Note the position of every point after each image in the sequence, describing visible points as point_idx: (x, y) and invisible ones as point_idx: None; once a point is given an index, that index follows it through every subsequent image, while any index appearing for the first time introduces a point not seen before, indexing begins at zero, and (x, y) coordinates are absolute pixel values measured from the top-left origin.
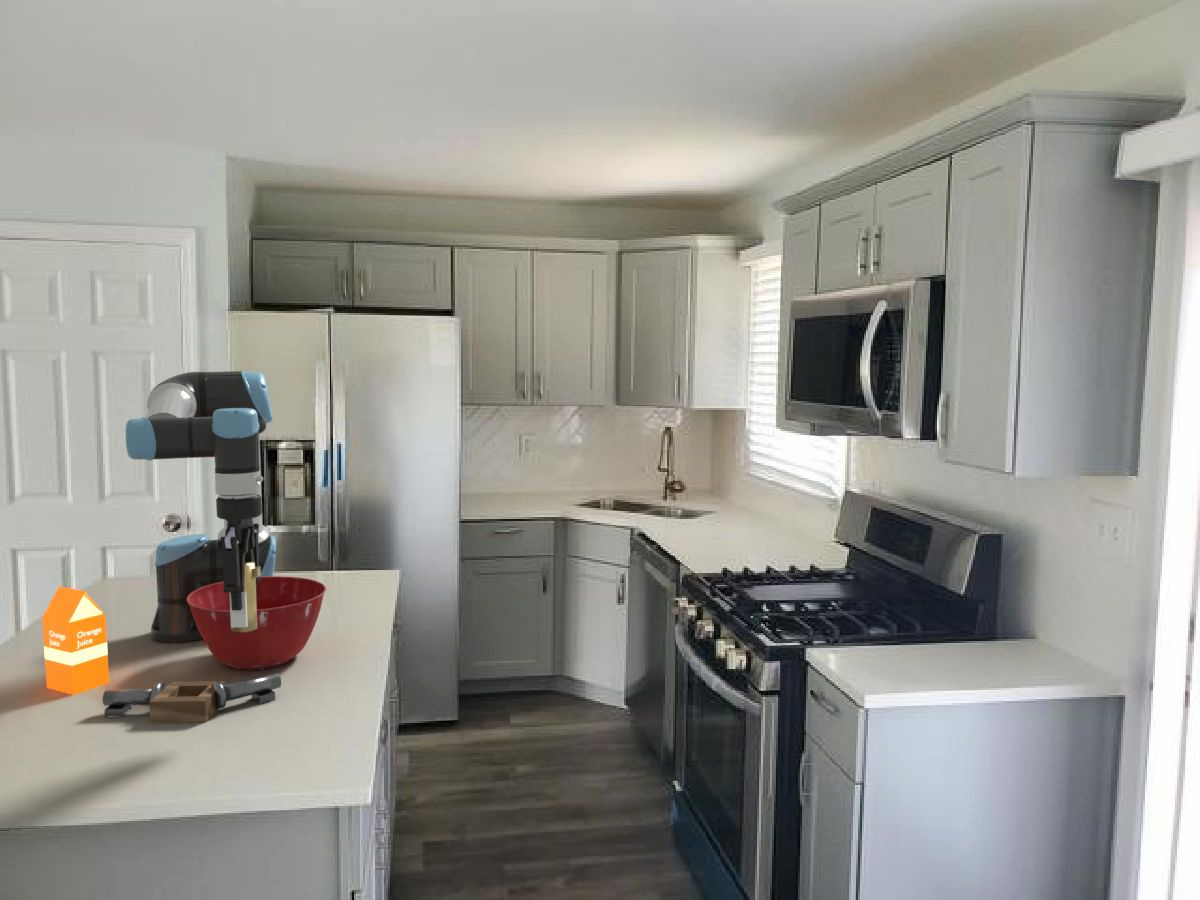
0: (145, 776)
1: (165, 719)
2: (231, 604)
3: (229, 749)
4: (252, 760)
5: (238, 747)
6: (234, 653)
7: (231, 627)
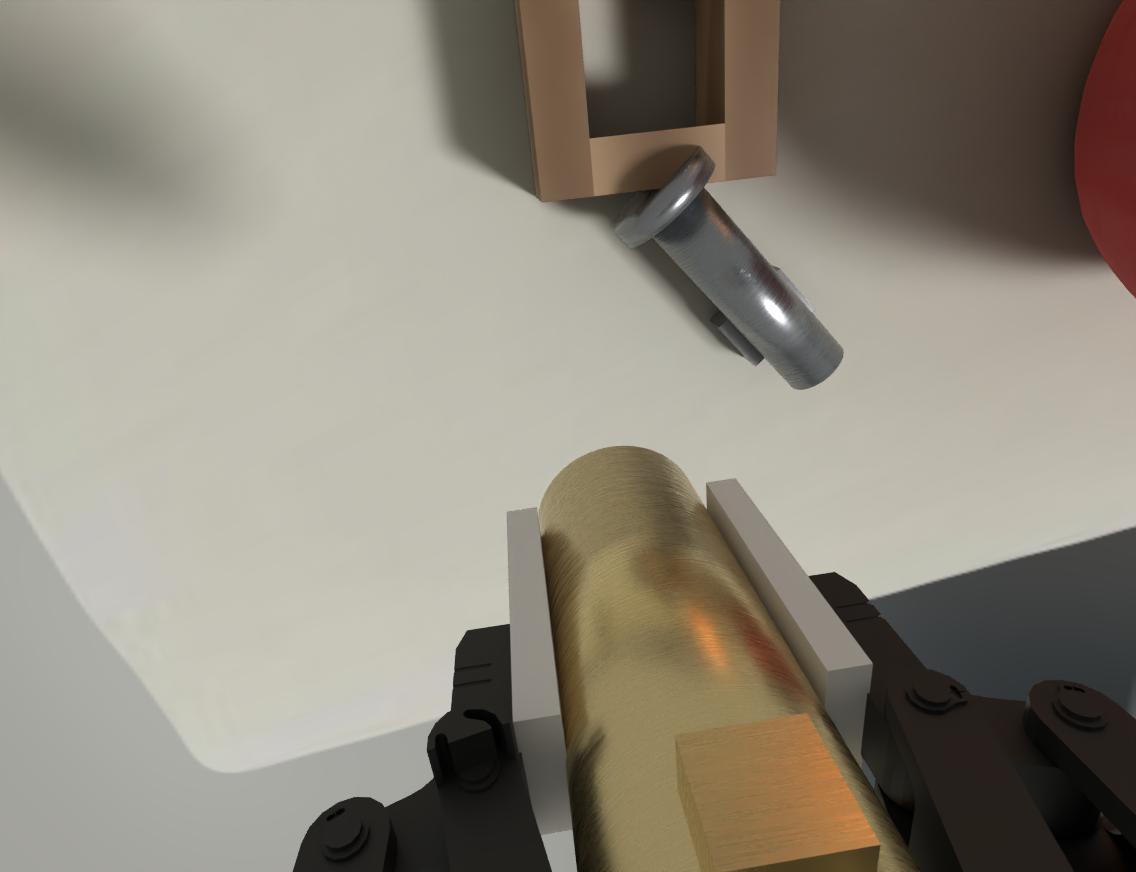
0: (55, 218)
1: (515, 13)
2: (455, 672)
3: (325, 395)
4: (267, 497)
5: (345, 416)
6: (1110, 62)
7: (507, 514)
